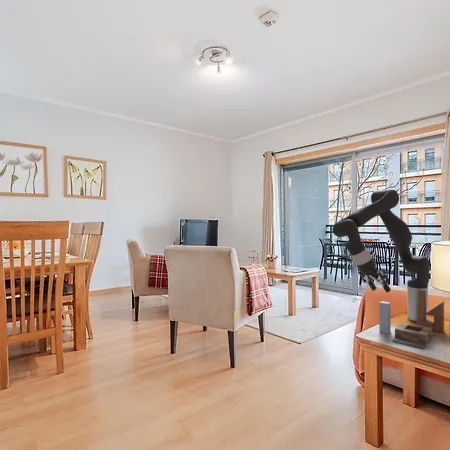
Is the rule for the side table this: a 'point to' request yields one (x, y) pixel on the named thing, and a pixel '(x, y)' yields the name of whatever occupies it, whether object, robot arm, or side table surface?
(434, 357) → the side table surface
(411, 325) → the wooden socket base
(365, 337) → the side table surface
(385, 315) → the rectangular block
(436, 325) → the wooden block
